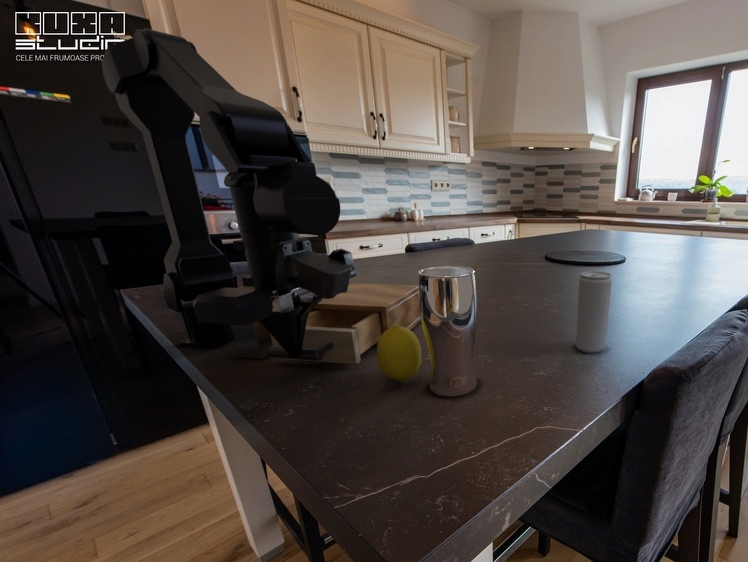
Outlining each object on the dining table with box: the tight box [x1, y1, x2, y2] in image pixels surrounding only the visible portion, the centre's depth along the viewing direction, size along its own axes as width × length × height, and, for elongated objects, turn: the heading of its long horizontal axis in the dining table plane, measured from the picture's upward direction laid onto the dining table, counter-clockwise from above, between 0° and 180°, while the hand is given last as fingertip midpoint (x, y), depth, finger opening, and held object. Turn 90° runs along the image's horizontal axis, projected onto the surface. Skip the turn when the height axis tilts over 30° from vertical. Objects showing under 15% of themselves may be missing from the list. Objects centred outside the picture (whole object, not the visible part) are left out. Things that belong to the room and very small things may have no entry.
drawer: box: [267, 309, 384, 365], centre depth 60 cm, size 18×13×5 cm
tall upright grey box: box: [231, 287, 275, 360], centre depth 61 cm, size 4×6×10 cm, turn 171°
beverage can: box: [575, 270, 613, 354], centre depth 61 cm, size 5×5×12 cm
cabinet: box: [309, 282, 421, 347], centre depth 71 cm, size 15×14×7 cm
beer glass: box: [417, 265, 479, 398], centre depth 49 cm, size 7×7×15 cm
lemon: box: [376, 325, 422, 383], centre depth 51 cm, size 6×6×8 cm
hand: (295, 355), depth 51 cm, fingers closed
